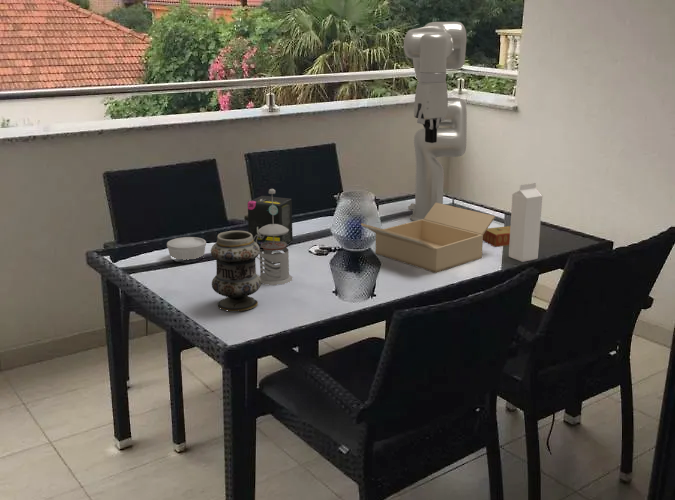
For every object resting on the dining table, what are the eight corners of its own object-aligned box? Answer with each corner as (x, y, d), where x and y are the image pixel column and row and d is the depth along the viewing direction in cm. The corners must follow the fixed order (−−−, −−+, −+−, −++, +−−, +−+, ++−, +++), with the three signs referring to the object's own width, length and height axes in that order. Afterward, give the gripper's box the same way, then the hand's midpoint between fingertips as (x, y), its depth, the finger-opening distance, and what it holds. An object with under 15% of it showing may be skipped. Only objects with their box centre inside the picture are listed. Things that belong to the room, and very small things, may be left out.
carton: (481, 241, 239) (482, 228, 237) (524, 235, 244) (525, 223, 243) (495, 248, 231) (496, 234, 230) (540, 242, 237) (541, 229, 235)
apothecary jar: (271, 306, 185) (268, 236, 180) (227, 317, 179) (223, 244, 173) (247, 292, 195) (244, 225, 189) (204, 302, 188) (200, 233, 183)
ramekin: (214, 258, 223) (213, 241, 221) (183, 267, 215) (182, 250, 213) (191, 251, 230) (190, 234, 229) (160, 259, 222) (159, 242, 221)
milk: (537, 259, 220) (544, 184, 213) (522, 262, 217) (527, 187, 210) (523, 253, 225) (528, 180, 218) (507, 256, 222) (512, 182, 215)
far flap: (435, 202, 238) (436, 203, 238) (423, 219, 236) (424, 220, 236) (494, 215, 221) (495, 217, 222) (482, 233, 219) (483, 235, 220)
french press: (278, 287, 198) (275, 194, 191) (244, 280, 204) (239, 189, 197) (300, 276, 206) (298, 187, 199) (266, 269, 212) (262, 182, 205)
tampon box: (248, 248, 232) (246, 201, 228) (262, 240, 241) (260, 195, 236) (280, 251, 228) (278, 204, 224) (293, 243, 237) (292, 197, 232)
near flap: (420, 239, 202) (419, 241, 202) (434, 248, 206) (433, 250, 206) (361, 223, 218) (360, 225, 218) (376, 231, 223) (375, 233, 223)
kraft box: (375, 253, 226) (375, 231, 224) (421, 240, 238) (421, 219, 236) (435, 272, 208) (436, 248, 206) (481, 257, 221) (483, 234, 219)
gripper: (440, 75, 223) (438, 137, 229) (404, 79, 214) (403, 143, 220) (459, 77, 218) (457, 140, 224) (424, 81, 209) (422, 147, 215)
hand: (430, 142), depth 222 cm, fingers closed
